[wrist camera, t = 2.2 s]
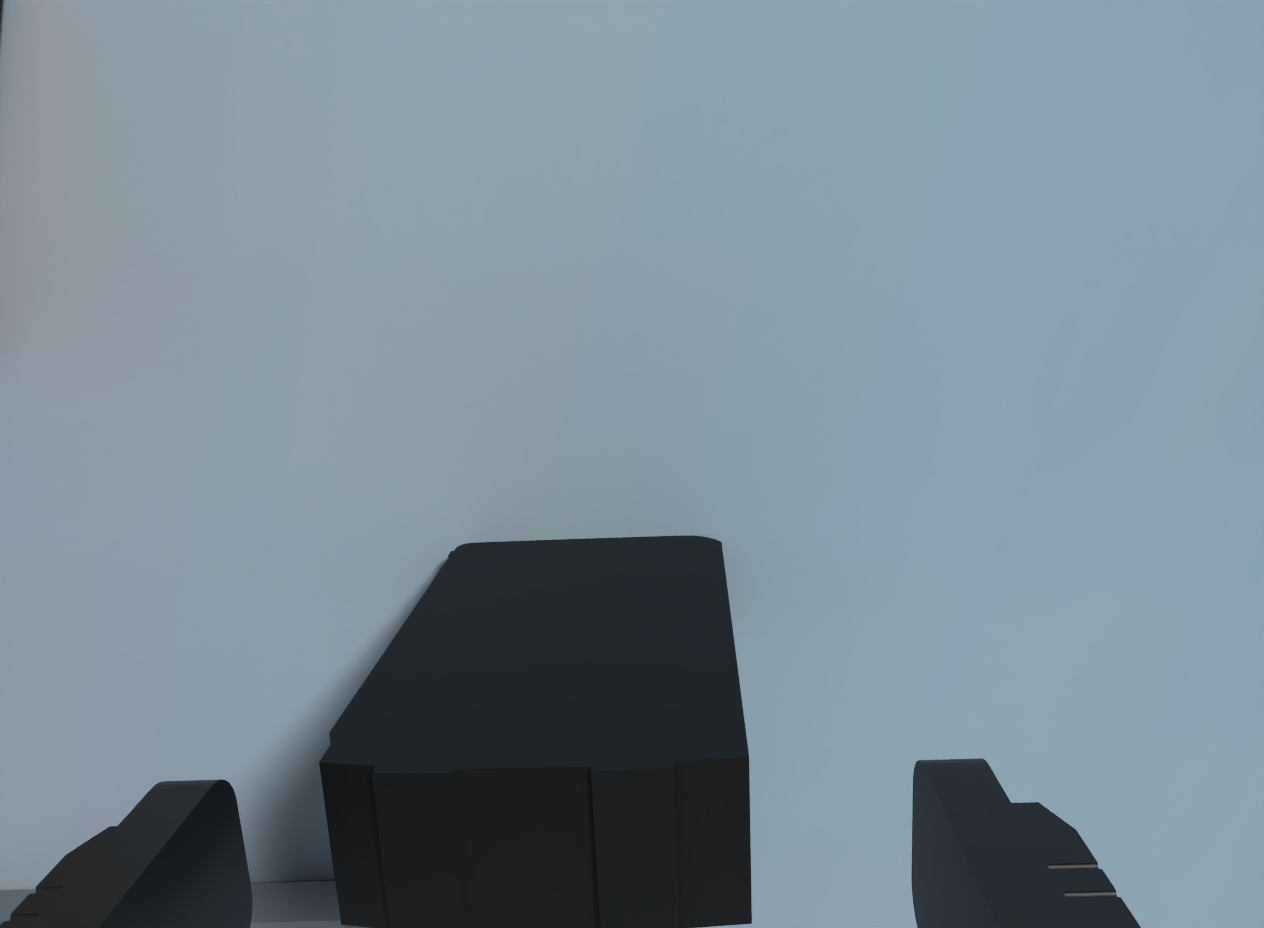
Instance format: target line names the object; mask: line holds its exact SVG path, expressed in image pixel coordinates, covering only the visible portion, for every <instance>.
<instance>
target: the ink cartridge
mask: <svg viewBox="0 0 1264 928" xmlns="http://www.w3.org/2000/svg"><path fill="white" fill-rule="evenodd" d="M448 556H449V558H448V560H447V561H446V563H445V564H444V566H443V567H442V569H441V570H440V572H439V573H438V575H437V576H436V577H435V579H434V580H433V582H432V583H431V585H430V586H429V588H428V589H427V591H426V592H425V594H424V595H423V596H422V598H421V599H420V601H419V602H418V604H417V605H416V607H415V608H414V610H413V611H412V613H411V614H410V616H409V617H408V618H407V620H406V621H405V623H404V624H403V626H402V627H401V629H400V630H399V632H398V633H397V635H396V636H395V638H394V639H393V640H392V642H391V643H390V645H389V646H388V648H387V649H386V651H385V652H384V654H383V655H382V657H381V658H380V659H379V661H378V662H377V664H376V665H375V667H374V668H373V670H372V671H371V673H370V674H369V676H368V677H367V679H366V680H365V681H364V683H363V684H362V686H361V687H360V689H359V690H358V692H357V693H356V695H355V696H354V698H353V699H352V700H351V702H350V703H349V705H348V706H347V708H346V709H345V711H344V712H343V714H342V715H341V717H340V718H339V720H338V721H337V722H336V724H335V725H334V727H333V728H332V730H331V731H330V742H331V745H330V746H329V748H328V750H327V751H326V753H325V754H324V756H323V757H322V759H321V760H320V762H319V764H320V771H321V778H322V786H323V793H324V801H325V808H326V816H327V823H328V831H329V838H330V846H331V853H332V860H333V868H334V875H335V883H336V890H337V898H338V905H339V913H340V920H341V925H348V926H359V927H369V928H696V927H710V926H724V925H738V924H751V923H752V914H751V853H750V793H749V754H748V746H747V738H746V730H745V722H744V715H743V707H742V699H741V691H740V684H739V676H738V668H737V660H736V652H735V645H734V637H733V629H732V621H731V613H730V606H729V598H728V590H727V582H726V574H725V567H724V559H723V551H722V543H721V542H720V541H718V540H715V539H712V538H707V537H701V536H657V537H626V538H596V539H565V540H537V541H510V542H484V543H468V544H463V545H460V546H458V547H457V548H456V549H455V551H451V552H450V554H449V555H448Z"/></svg>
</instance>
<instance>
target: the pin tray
mask: <svg viewBox="0 0 1264 928" xmlns="http://www.w3.org/2000/svg"><path fill="white" fill-rule="evenodd" d="M250 884H251V890H252V902H253V905H252V919H251V925H250V928H368V927H359V926H348V925H341V920H340V913H339V905H338V898H337V890H336V883H335V881H309V882H276V883H250ZM35 892H36V890H12V891H0V925H1V924H2V923H3V921H9V920H10V917H11V913H12V912H13V911H14V910H15V909H16V908H17V907H18V906H19V904H20V903H21V902H22V901H23V900H24V899H25V898H26V897H27V896H28V895H29V894H32V893H35Z"/></svg>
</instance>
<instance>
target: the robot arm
mask: <svg viewBox="0 0 1264 928" xmlns="http://www.w3.org/2000/svg"><path fill="white" fill-rule="evenodd" d="M912 894H913V904H914V911H915V917H916V922H917V927H918V928H1141V927H1140V926H1139V924H1138V923H1137V921H1136V920H1135V918H1134V917H1133V915H1132V914H1131V912H1130V911H1129V909H1128V908H1127V906H1126V905H1125V903H1124V902H1123V900H1122V899H1121V897H1117V895H1116V890H1115V888H1114V887H1113V885H1112V884H1111V882H1110V881H1109V879H1108V878H1107V876H1106V875H1105V873H1104V872H1103V870H1102V869H1099V868H1098V862H1097V861H1096V859H1095V858H1094V856H1093V855H1092V853H1091V852H1090V850H1089V849H1088V847H1087V846H1086V844H1085V843H1084V841H1083V840H1082V838H1081V837H1080V835H1079V834H1078V832H1077V831H1076V830H1075V829H1074V828H1073V827H1071V826H1070V825H1069V824H1067V823H1066V822H1064V821H1063V820H1062V819H1060V818H1059V817H1058V816H1056V815H1055V814H1053V813H1052V812H1051V811H1049V810H1048V809H1047V808H1045V807H1044V806H1042V805H1041V804H1040V803H1038V802H1035V803H1011V802H1010V800H1009V799H1008V797H1007V795H1006V794H1005V792H1004V790H1003V788H1002V787H1001V785H1000V783H999V782H998V780H997V778H996V776H995V775H994V773H993V771H992V770H991V768H990V766H989V765H988V763H987V762H986V761H985V760H984V759H950V760H919V761H917V762H916V764H915V768H914V775H913V822H912ZM252 905H253V902H252V890H251V884H250V878H249V872H248V866H247V860H246V854H245V848H244V842H243V836H242V830H241V824H240V818H239V812H238V806H237V800H236V796H235V793H234V790H233V788H232V786H231V785H230V783H229V782H227V781H226V780H197V781H164V782H160V783H158V784H156V785H155V786H154V787H153V788H152V789H151V790H150V791H149V792H148V793H147V794H146V795H145V796H144V797H143V799H142V800H141V801H140V802H139V803H138V804H137V805H136V806H135V807H134V809H133V810H132V811H131V812H130V813H129V814H128V815H127V816H126V817H125V819H124V820H123V821H122V822H121V823H120V824H119V825H118V826H112V827H108V828H107V829H105V830H104V831H102V832H101V833H99V834H97V835H96V836H94V837H93V838H91V839H90V840H88V841H87V842H85V843H84V844H82V845H80V846H79V847H77V848H76V849H74V850H73V851H71V852H70V853H68V854H67V855H66V856H65V857H64V858H63V859H62V860H61V861H60V862H59V863H58V864H57V865H56V866H55V867H54V868H53V869H52V870H51V871H50V873H49V874H48V875H47V876H46V877H45V878H44V879H43V880H42V881H41V882H40V883H39V884H38V885H37V886H36V892H35V893H32V894H29V895H28V896H27V897H26V898H25V899H24V900H23V901H22V902H21V903H20V904H19V906H18V907H17V908H16V909H15V910H14V911H13V912H12V913H11V917H10V920H9V921H3V923H2V924H1V925H0V928H250V925H251V919H252Z"/></svg>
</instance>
